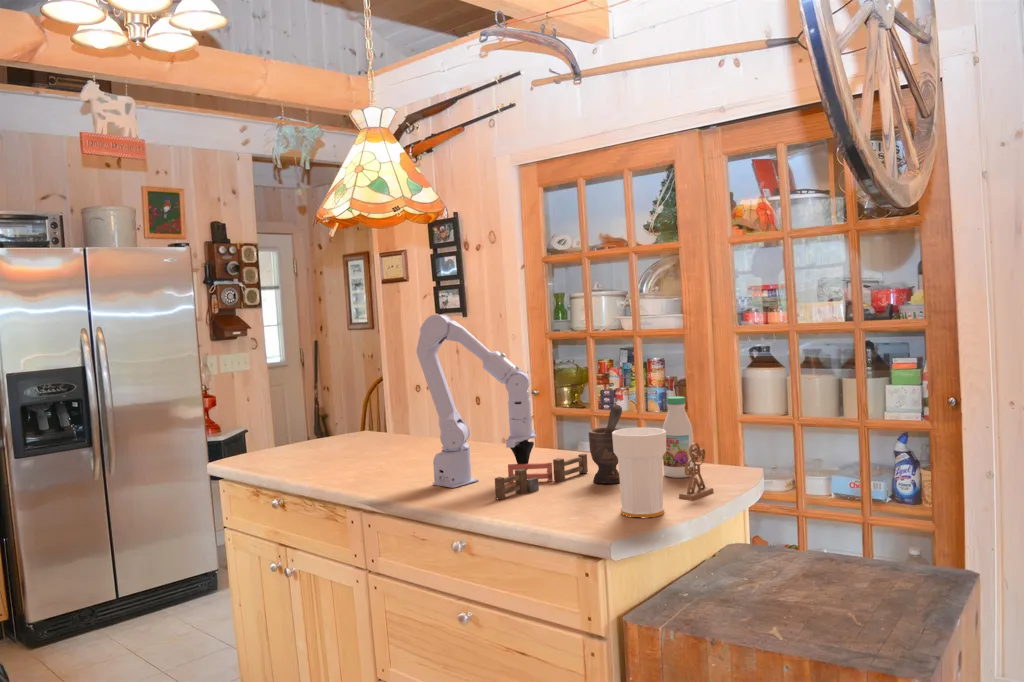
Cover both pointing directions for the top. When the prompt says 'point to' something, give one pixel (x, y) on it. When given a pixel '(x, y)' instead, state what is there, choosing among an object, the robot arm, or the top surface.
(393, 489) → the top surface
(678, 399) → the milk bottle
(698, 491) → the gingerbread man figurine
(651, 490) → the cup
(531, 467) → the gate
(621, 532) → the top surface
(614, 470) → the mortar and pestle
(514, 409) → the robot arm
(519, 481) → the fence
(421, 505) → the top surface
